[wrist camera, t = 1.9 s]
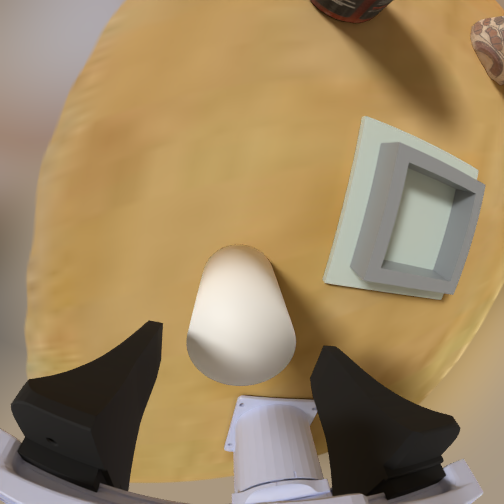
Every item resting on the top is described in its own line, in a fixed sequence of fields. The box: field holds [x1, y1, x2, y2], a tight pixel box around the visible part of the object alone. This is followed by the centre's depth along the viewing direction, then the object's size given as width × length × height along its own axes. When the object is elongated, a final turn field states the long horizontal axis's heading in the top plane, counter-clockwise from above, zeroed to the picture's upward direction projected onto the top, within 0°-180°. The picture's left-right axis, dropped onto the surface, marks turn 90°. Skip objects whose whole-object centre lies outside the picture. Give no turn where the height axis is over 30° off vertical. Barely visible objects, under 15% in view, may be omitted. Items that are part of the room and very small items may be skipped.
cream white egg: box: [187, 245, 296, 386], centre depth 16 cm, size 5×5×8 cm
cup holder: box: [323, 116, 485, 300], centre depth 18 cm, size 12×12×3 cm
